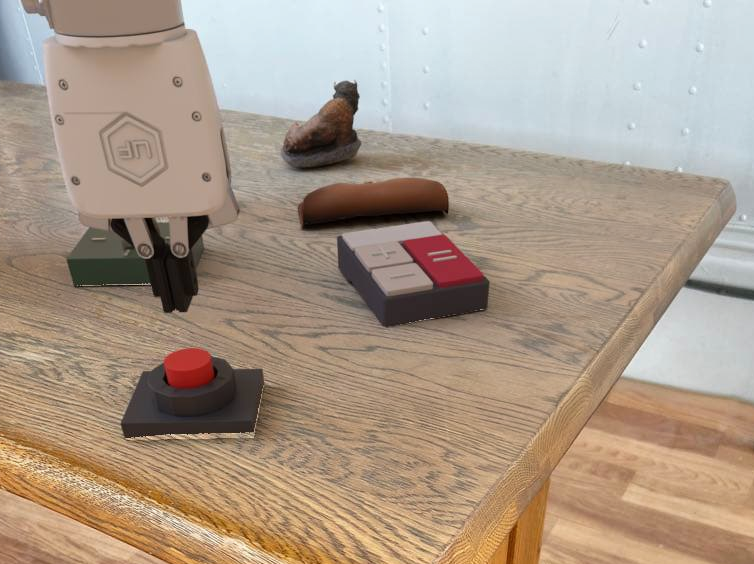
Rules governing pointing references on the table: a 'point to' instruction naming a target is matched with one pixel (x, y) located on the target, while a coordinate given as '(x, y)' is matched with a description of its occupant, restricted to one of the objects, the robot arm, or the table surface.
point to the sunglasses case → (372, 199)
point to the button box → (194, 403)
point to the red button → (189, 368)
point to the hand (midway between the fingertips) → (179, 304)
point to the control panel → (113, 259)
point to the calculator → (411, 273)
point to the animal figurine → (325, 132)
